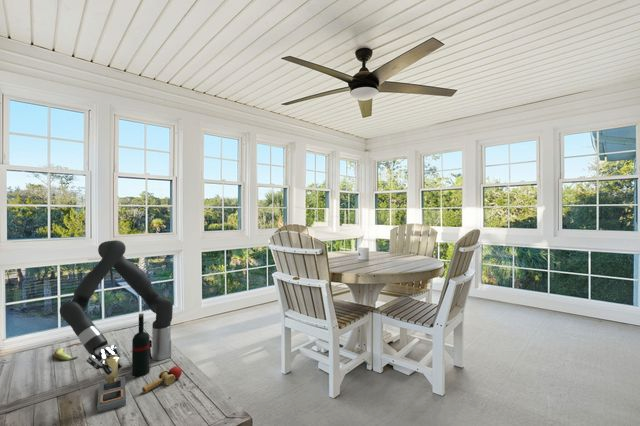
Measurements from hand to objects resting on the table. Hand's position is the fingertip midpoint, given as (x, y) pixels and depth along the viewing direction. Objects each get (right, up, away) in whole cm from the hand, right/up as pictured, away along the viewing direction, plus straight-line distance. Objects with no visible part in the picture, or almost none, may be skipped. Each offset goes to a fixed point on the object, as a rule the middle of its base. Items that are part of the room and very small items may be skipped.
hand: (115, 370), depth 136 cm
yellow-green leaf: (-56, -14, +43) cm, 72 cm away
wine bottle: (-3, -14, +26) cm, 30 cm away
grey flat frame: (-5, -14, +5) cm, 15 cm away
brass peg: (-2, -5, 0) cm, 5 cm away
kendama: (+13, -14, +15) cm, 24 cm away
